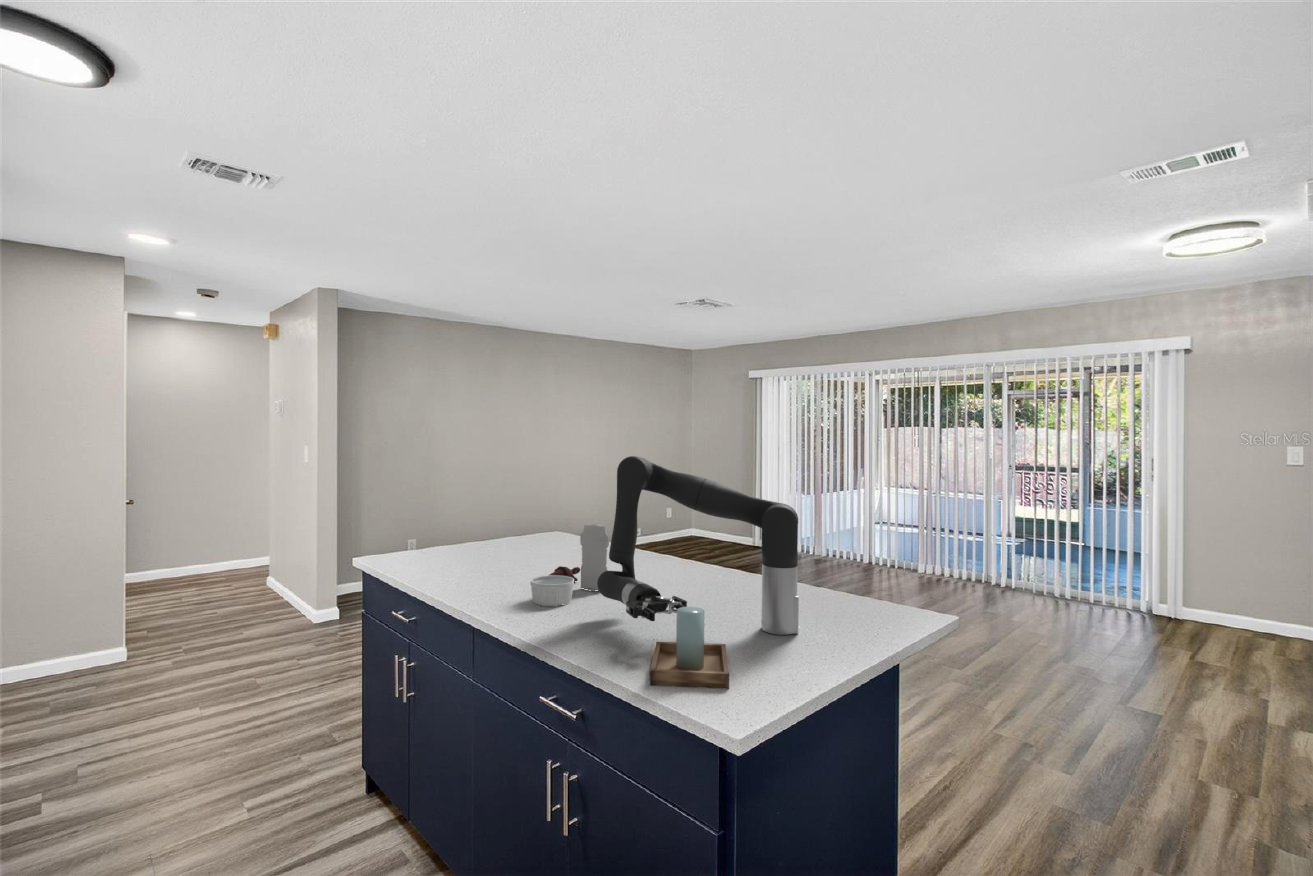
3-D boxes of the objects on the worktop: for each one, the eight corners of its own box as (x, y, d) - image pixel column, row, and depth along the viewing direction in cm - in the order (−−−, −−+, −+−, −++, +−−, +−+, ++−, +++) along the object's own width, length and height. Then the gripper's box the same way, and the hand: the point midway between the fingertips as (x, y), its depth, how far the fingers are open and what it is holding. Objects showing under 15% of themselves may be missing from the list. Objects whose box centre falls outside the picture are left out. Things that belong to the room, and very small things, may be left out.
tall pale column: (611, 590, 201) (611, 523, 201) (605, 593, 197) (606, 525, 197) (582, 587, 205) (583, 522, 205) (576, 590, 201) (577, 523, 201)
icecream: (553, 572, 198) (587, 569, 209) (540, 563, 202) (574, 561, 214) (548, 592, 198) (582, 588, 210) (535, 583, 203) (569, 579, 214)
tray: (725, 657, 140) (725, 644, 140) (729, 688, 122) (729, 674, 122) (656, 654, 141) (656, 641, 141) (649, 685, 123) (650, 670, 123)
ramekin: (558, 594, 195) (559, 573, 195) (582, 603, 185) (582, 580, 185) (522, 601, 186) (522, 578, 186) (545, 610, 176) (545, 586, 176)
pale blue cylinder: (695, 659, 136) (695, 605, 136) (708, 668, 130) (709, 612, 130) (671, 663, 133) (671, 608, 133) (684, 672, 128) (684, 615, 128)
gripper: (615, 585, 152) (642, 601, 137) (666, 580, 158) (697, 595, 144) (615, 616, 152) (642, 635, 137) (665, 609, 158) (696, 627, 143)
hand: (670, 614), depth 140 cm, fingers open, 8 cm apart
